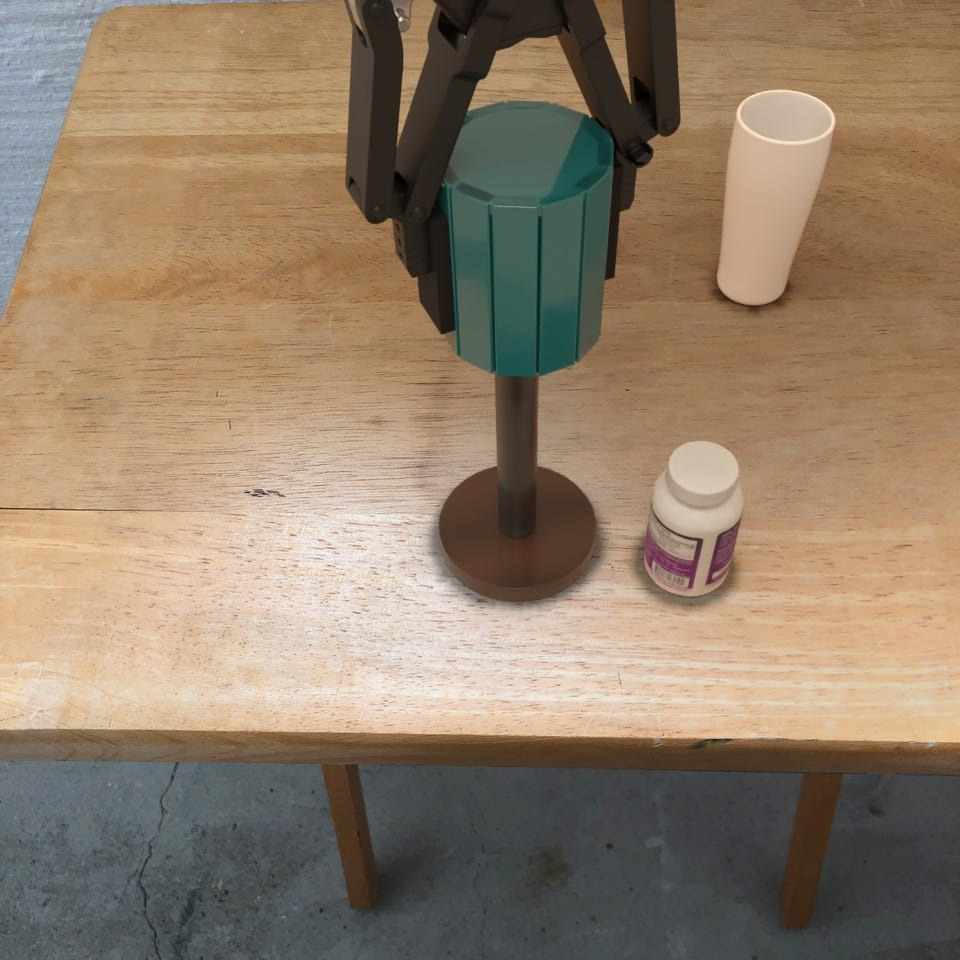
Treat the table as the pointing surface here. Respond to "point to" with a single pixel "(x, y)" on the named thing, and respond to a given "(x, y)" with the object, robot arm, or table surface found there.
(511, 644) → the table surface
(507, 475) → the towel holder
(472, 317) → the teal fluted cylinder
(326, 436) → the table surface
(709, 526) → the pill bottle
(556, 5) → the robot arm
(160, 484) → the table surface
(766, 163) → the drinking glass
